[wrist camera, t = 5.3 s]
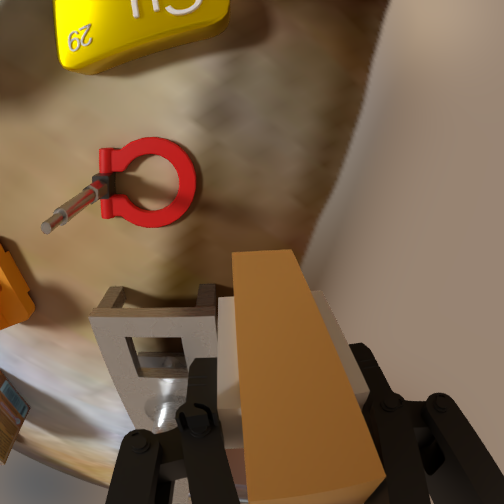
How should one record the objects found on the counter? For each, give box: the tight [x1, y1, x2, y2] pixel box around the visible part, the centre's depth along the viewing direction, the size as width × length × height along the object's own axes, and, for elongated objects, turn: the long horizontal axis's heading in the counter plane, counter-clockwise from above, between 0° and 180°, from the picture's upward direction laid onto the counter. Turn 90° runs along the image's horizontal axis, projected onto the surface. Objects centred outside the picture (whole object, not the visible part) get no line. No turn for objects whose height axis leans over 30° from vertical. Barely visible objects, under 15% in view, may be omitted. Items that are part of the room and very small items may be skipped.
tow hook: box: [41, 137, 196, 234], centre depth 22 cm, size 8×13×9 cm
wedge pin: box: [232, 249, 386, 504], centre depth 13 cm, size 4×4×14 cm
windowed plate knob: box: [88, 284, 218, 504], centre depth 27 cm, size 19×12×18 cm, turn 1°
